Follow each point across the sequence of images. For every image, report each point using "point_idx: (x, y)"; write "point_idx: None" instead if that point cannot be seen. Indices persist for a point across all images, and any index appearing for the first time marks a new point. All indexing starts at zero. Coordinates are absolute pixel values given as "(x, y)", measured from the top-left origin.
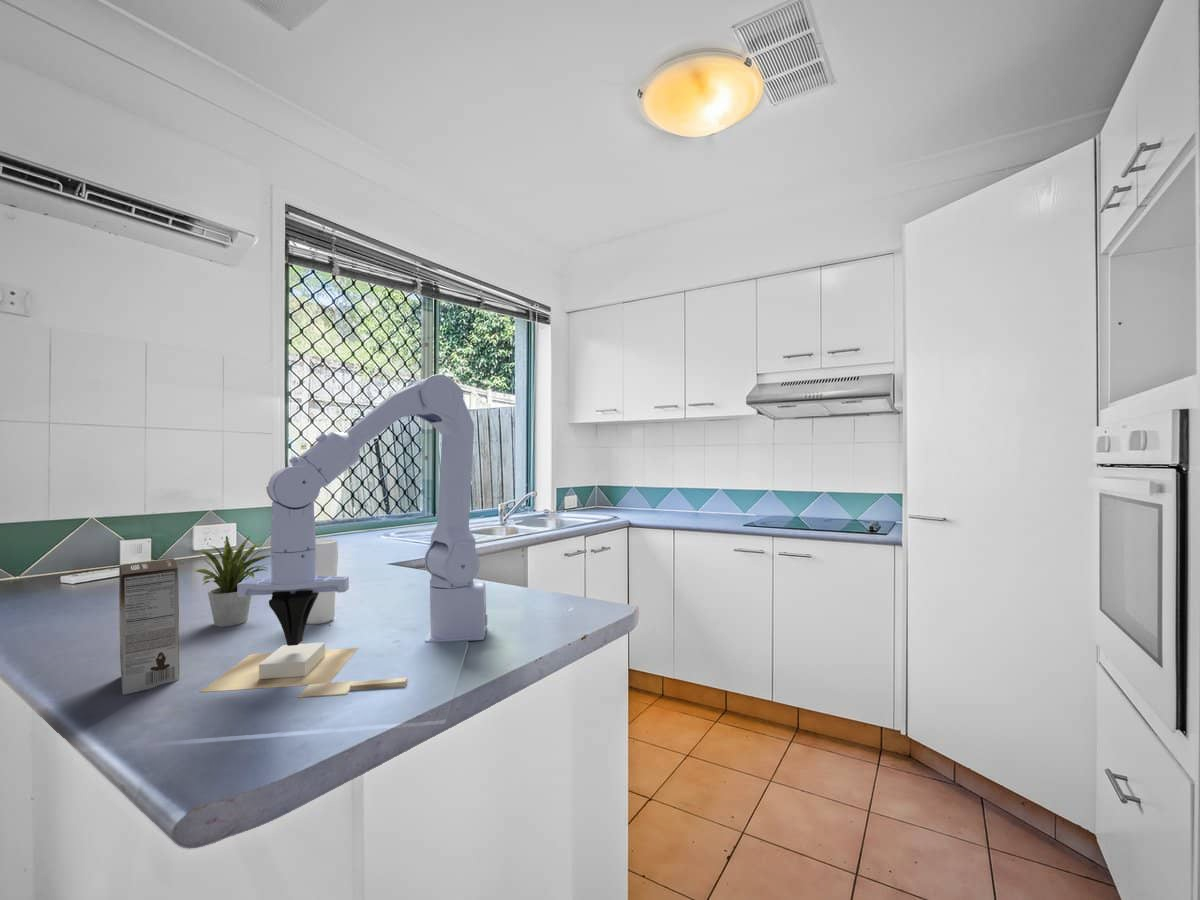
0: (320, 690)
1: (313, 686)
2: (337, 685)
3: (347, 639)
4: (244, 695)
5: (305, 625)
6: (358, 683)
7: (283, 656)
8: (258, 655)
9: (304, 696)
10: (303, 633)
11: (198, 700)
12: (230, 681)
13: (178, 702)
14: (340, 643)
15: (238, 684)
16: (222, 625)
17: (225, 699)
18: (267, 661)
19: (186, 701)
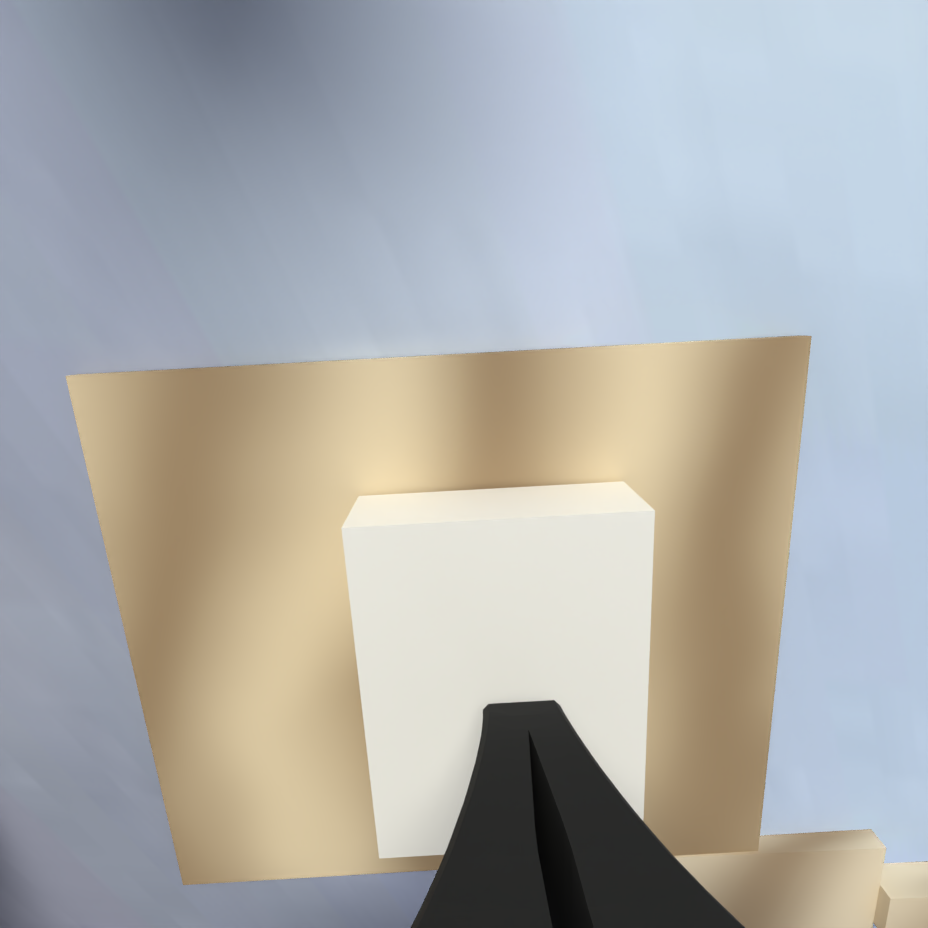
0: (744, 917)
1: (699, 880)
2: (809, 884)
3: (654, 23)
4: (401, 884)
5: (609, 780)
6: (919, 918)
7: (467, 755)
8: (145, 412)
9: None
10: (575, 734)
11: (225, 911)
12: (251, 790)
13: (150, 921)
14: (624, 134)
15: (316, 823)
16: None
17: (340, 911)
18: (405, 818)
19: (178, 915)
